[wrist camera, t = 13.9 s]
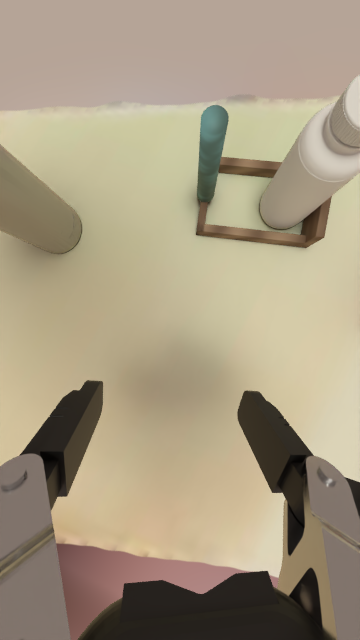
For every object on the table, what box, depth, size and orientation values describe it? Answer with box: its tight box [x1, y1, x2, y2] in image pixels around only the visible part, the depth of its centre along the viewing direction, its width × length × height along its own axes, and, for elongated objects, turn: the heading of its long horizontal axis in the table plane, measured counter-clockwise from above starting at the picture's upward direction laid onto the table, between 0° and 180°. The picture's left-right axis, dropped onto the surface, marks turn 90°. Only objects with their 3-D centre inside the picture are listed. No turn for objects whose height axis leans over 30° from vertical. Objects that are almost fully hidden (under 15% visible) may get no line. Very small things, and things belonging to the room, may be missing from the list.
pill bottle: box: [260, 75, 360, 229], centre depth 22 cm, size 8×8×15 cm
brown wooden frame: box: [196, 105, 332, 248], centre depth 23 cm, size 20×12×13 cm, turn 82°
